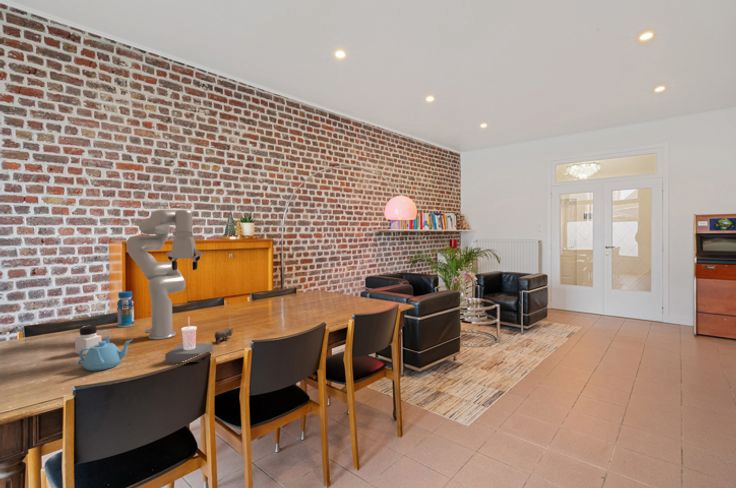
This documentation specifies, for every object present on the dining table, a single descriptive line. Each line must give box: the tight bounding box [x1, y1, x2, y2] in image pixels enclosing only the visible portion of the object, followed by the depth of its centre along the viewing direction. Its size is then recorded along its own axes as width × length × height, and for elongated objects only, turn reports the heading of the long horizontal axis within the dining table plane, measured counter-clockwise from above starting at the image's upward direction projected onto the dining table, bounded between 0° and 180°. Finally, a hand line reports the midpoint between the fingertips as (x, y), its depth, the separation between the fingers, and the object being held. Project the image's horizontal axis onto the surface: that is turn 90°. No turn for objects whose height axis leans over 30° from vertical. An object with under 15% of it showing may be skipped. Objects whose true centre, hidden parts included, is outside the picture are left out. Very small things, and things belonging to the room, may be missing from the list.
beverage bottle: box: [116, 290, 135, 328], centre depth 215 cm, size 8×8×20 cm
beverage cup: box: [180, 316, 198, 350], centre depth 159 cm, size 6×6×14 cm
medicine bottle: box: [74, 324, 103, 356], centre depth 167 cm, size 7×7×12 cm
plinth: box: [164, 342, 214, 364], centre depth 159 cm, size 14×14×4 cm
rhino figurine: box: [214, 327, 234, 345], centre depth 185 cm, size 4×14×6 cm, turn 165°
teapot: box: [77, 335, 133, 372], centre depth 149 cm, size 15×15×10 cm
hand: (184, 269), depth 180 cm, fingers open, 9 cm apart
